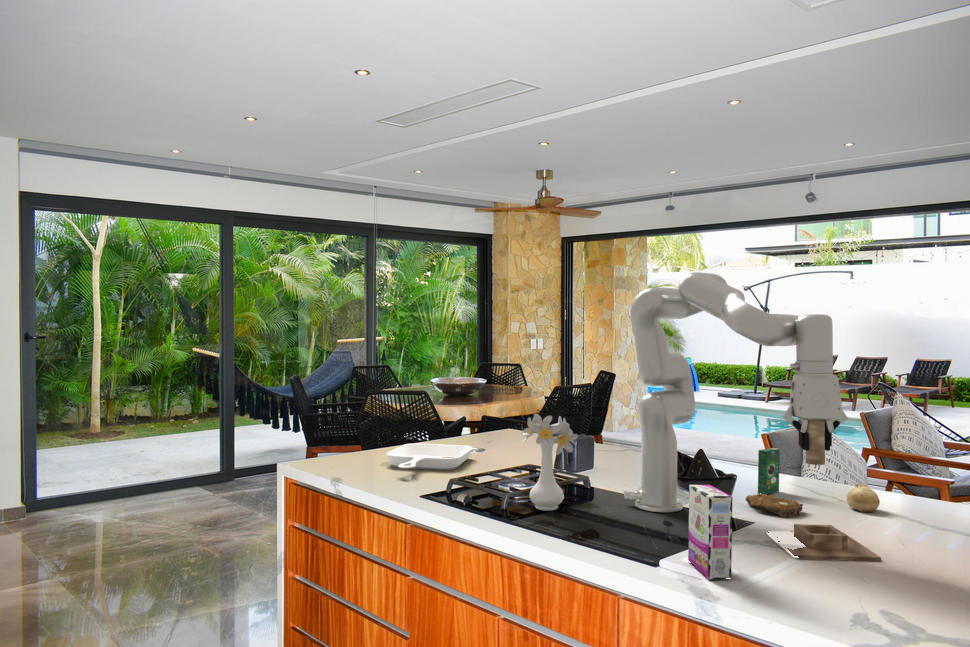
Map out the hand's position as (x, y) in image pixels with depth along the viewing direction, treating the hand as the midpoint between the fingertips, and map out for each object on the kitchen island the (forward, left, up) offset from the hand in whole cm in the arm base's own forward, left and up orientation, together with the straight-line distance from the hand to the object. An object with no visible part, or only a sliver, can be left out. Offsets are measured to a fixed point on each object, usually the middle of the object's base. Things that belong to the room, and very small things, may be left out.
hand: (815, 448), depth 159 cm
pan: (-101, +80, -22) cm, 131 cm away
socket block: (+1, -1, -22) cm, 22 cm away
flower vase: (-59, +27, -22) cm, 69 cm away
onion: (+26, +33, -22) cm, 48 cm away
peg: (0, 0, -3) cm, 3 cm away
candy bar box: (-28, -19, -22) cm, 40 cm away
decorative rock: (+1, +31, -22) cm, 38 cm away
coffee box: (+7, +51, -22) cm, 56 cm away
